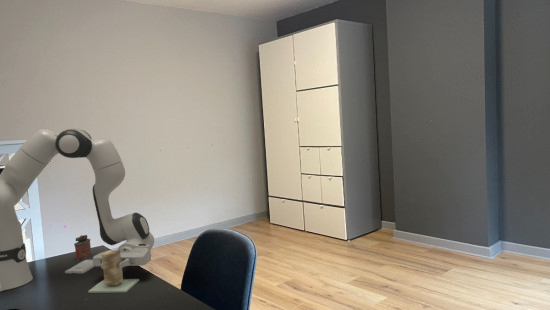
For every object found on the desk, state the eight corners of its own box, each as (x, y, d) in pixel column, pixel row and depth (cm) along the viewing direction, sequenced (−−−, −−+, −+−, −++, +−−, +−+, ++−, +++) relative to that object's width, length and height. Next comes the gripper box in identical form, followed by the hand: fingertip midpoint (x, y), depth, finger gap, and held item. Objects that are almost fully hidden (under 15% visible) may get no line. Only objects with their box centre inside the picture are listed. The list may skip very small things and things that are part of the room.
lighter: (87, 254, 187) (85, 233, 186) (93, 254, 186) (91, 233, 185) (74, 260, 180) (71, 238, 179) (80, 261, 179) (77, 238, 178)
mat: (88, 292, 144) (88, 291, 144) (103, 281, 154) (103, 279, 154) (126, 292, 143) (126, 290, 142) (139, 280, 152) (139, 279, 152)
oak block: (104, 284, 146) (101, 254, 145) (111, 279, 151) (108, 250, 150) (116, 284, 146) (113, 254, 145) (123, 279, 150) (120, 250, 149)
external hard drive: (102, 263, 176) (83, 274, 164) (85, 263, 178) (65, 274, 165) (101, 259, 176) (83, 270, 164) (84, 259, 177) (64, 270, 165)
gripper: (103, 245, 161) (82, 258, 148) (153, 244, 159) (137, 257, 145) (105, 261, 162) (84, 275, 148) (154, 260, 159) (138, 274, 146)
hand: (111, 266), depth 147 cm, fingers open, 5 cm apart
